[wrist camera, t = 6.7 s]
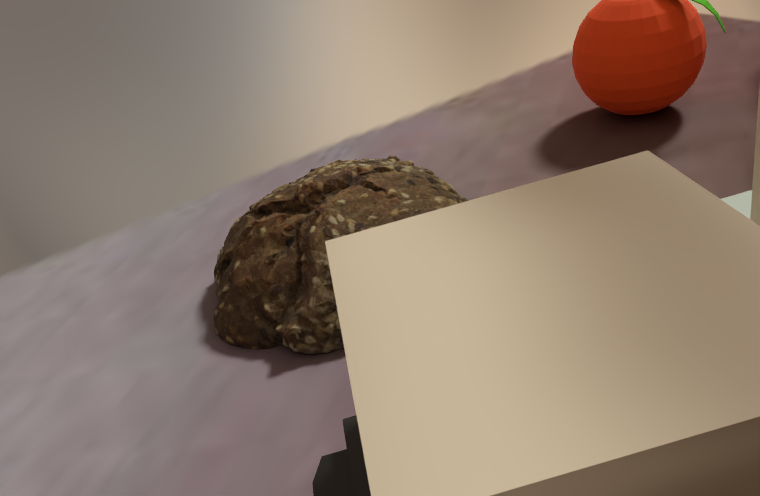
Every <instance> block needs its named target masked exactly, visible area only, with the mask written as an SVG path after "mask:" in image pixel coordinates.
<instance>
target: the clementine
mask: <svg viewBox="0 0 760 496" xmlns="http://www.w3.org/2000/svg"><path fill="white" fill-rule="evenodd" d="M692 1H694V2H697V3H699V4H701V5H703V6H704V7H706V8H707V9H708V10H709V11H710V12H711V13H713V14H714V15H715V16H716V18H717V20H718V22H719V23H720V25H721V27H722V29H723V31H724V32H725V30H724V27H723V24H722V22H721V19H720V17H719V14H718V13H717V12H716V10H715V9H714V8H713V7H712V6H711V4H710V3H709V2H708V1H707V0H692ZM725 33H726V32H725ZM706 46H707V44H706V36H705V29H704V26H703V23H702V21H701V19H700V16H699V14H698V12H697V10H696V9H695V8H694V7H693V6H692V4H691V3H690V2H689V1H688V0H602V1H600V2H599V3H598V4H597V5H596V6H595V7H594V8H593V9H592V10H591V11H590V12H589V13H588V14H587V16H586V18H585V19H584V20H583V22H582V23H581V25H580V26H579V30H578V32H577V35H576V38H575V41H574V45H573V58H572V64H573V68H574V73H575V77H576V79H577V81H578V83H579V85H580V86H581V88H582V90H583V91H584V93H585V94H586V95H587V96H588V97H589V98H590V99H591V100H592V101H593V102H594V103H595V104H596V105H598V106H600V107H602V108H604V109H606V110H608V111H611V112H613V113H616V114H622V115H640V114H647V113H652V112H655V111H658V110H661V109H663V108H665V107H667V106H668V105H670V104H671V103H673V102H674V101H676V100H677V99H679V98H680V97H681V96H683V94H684V93H685V92H686V91H687V90H688V89H689V88H690V86H691V85H692V84H693V83H694V81H695V79H696V78H697V75H698V73H699V71H700V69H701V67H702V65H703V63H704V58H705V52H706Z"/></svg>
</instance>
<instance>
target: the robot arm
mask: <svg viewBox="0 0 760 496" xmlns="http://www.w3.org/2000/svg"><path fill="white" fill-rule="evenodd" d="M343 427H344V433H345V440H346V446H347V449H346V450H342V451H339V452H335V453H332V454H329V455H325V456H322V458H321V460H320V463H319V466H318V469H317V472H316V475H315V478H314V480H313V493H314V496H371V492H370V487H369V481H368V476H367V470H366V465H365V459H364V454H363V448H362V443H361V437H360V432H359V426H358V421H357V415H356V416H352V417H349V418H345V419H343Z"/></svg>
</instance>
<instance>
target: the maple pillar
mask: <svg viewBox="0 0 760 496" xmlns="http://www.w3.org/2000/svg"><path fill="white" fill-rule="evenodd" d="M325 244H326V250H327V255H328V261H329V266H330V272H331V278H332V283H333V289H334V294H335V300H336V305H337V311H338V316H339V322H340V327H341V333H342V338H343V344H344V349H345V355H346V360H347V366H348V371H349V377H350V382H351V388H352V393H353V399H354V404H355V410H356V415H357V421H358V426H359V432H360V437H361V443H362V448H363V454H364V459H365V465H366V470H367V476H368V481H369V487H370V492H371V496H760V226H759V225H758V224H756V223H755V222H753V221H752V220H750V219H749V218H747V217H746V216H744V215H743V214H741V213H740V212H739V211H737V210H736V209H734V208H733V207H731V206H730V205H728V204H727V203H725V202H724V201H722V200H721V199H719V198H718V197H716V196H715V195H713V194H712V193H710V192H709V191H707V190H706V189H704V188H703V187H701V186H700V185H698V184H697V183H696V182H694V181H693V180H691V179H690V178H688V177H687V176H685V175H684V174H682V173H681V172H679V171H678V170H676V169H675V168H673V167H672V166H670V165H669V164H667V163H666V162H664V161H663V160H661V159H660V158H658V157H657V156H655V155H654V154H653V153H651V152H650V151H648V150H647V151H644V152H640V153H636V154H633V155H629V156H626V157H622V158H619V159H615V160H612V161H608V162H604V163H601V164H597V165H594V166H590V167H587V168H583V169H580V170H576V171H573V172H569V173H565V174H562V175H558V176H555V177H551V178H548V179H544V180H541V181H537V182H534V183H530V184H526V185H523V186H519V187H516V188H512V189H509V190H505V191H502V192H498V193H494V194H491V195H487V196H484V197H480V198H477V199H473V200H470V201H466V202H463V203H459V204H455V205H452V206H448V207H445V208H441V209H438V210H434V211H431V212H427V213H424V214H420V215H416V216H413V217H409V218H406V219H402V220H399V221H395V222H392V223H388V224H384V225H381V226H377V227H374V228H370V229H367V230H363V231H360V232H356V233H353V234H349V235H345V236H342V237H338V238H335V239H331V240H328V241H325Z"/></svg>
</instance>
